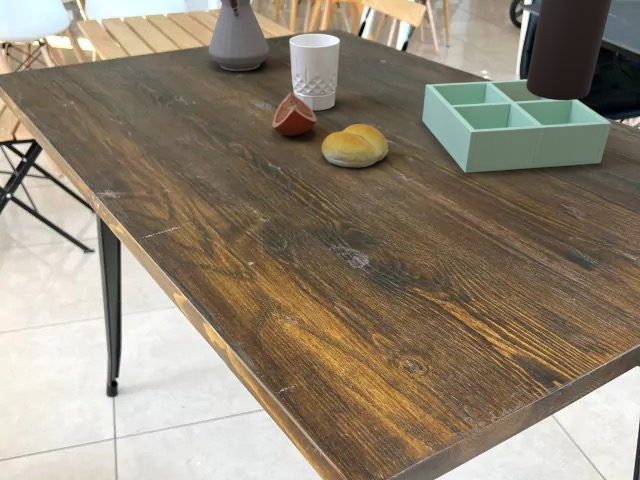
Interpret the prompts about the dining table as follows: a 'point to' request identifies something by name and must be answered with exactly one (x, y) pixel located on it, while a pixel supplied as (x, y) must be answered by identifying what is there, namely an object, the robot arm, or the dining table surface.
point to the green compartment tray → (512, 127)
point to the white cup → (315, 69)
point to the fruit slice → (293, 116)
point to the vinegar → (566, 48)
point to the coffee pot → (238, 37)
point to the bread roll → (355, 146)
